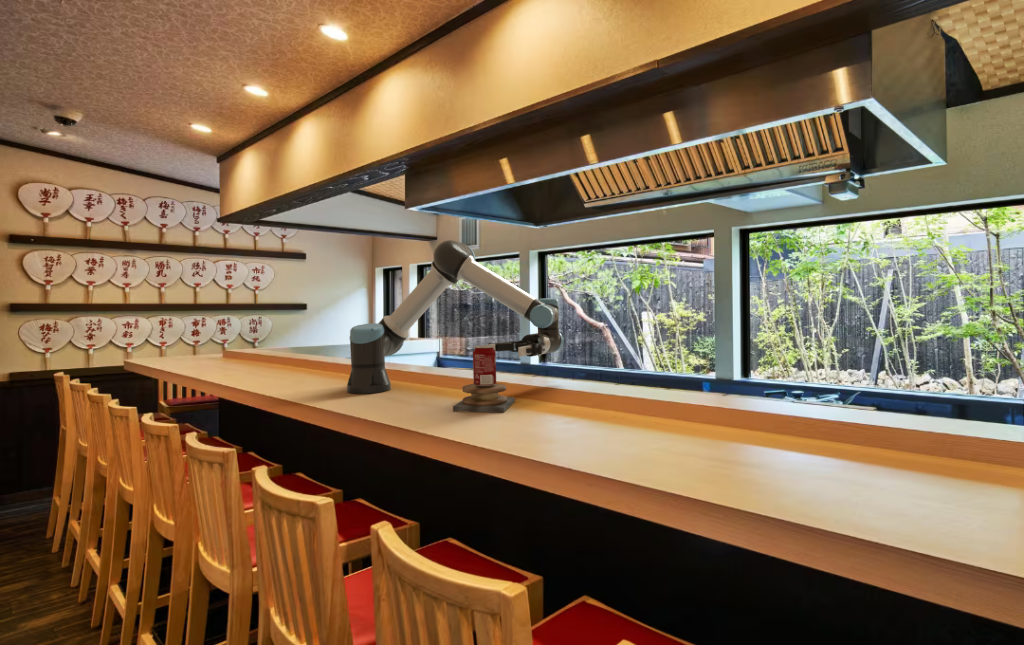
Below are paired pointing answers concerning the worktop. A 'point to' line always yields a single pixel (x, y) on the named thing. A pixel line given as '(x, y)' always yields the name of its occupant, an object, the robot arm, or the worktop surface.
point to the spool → (484, 399)
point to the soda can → (484, 366)
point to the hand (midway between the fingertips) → (500, 350)
